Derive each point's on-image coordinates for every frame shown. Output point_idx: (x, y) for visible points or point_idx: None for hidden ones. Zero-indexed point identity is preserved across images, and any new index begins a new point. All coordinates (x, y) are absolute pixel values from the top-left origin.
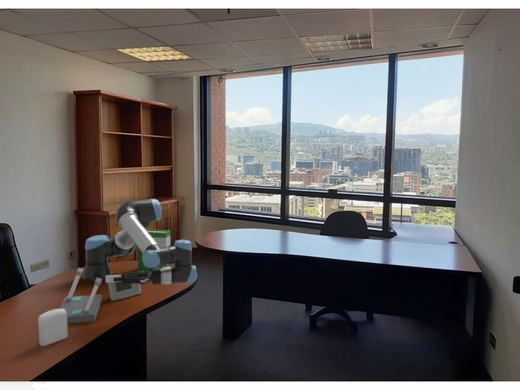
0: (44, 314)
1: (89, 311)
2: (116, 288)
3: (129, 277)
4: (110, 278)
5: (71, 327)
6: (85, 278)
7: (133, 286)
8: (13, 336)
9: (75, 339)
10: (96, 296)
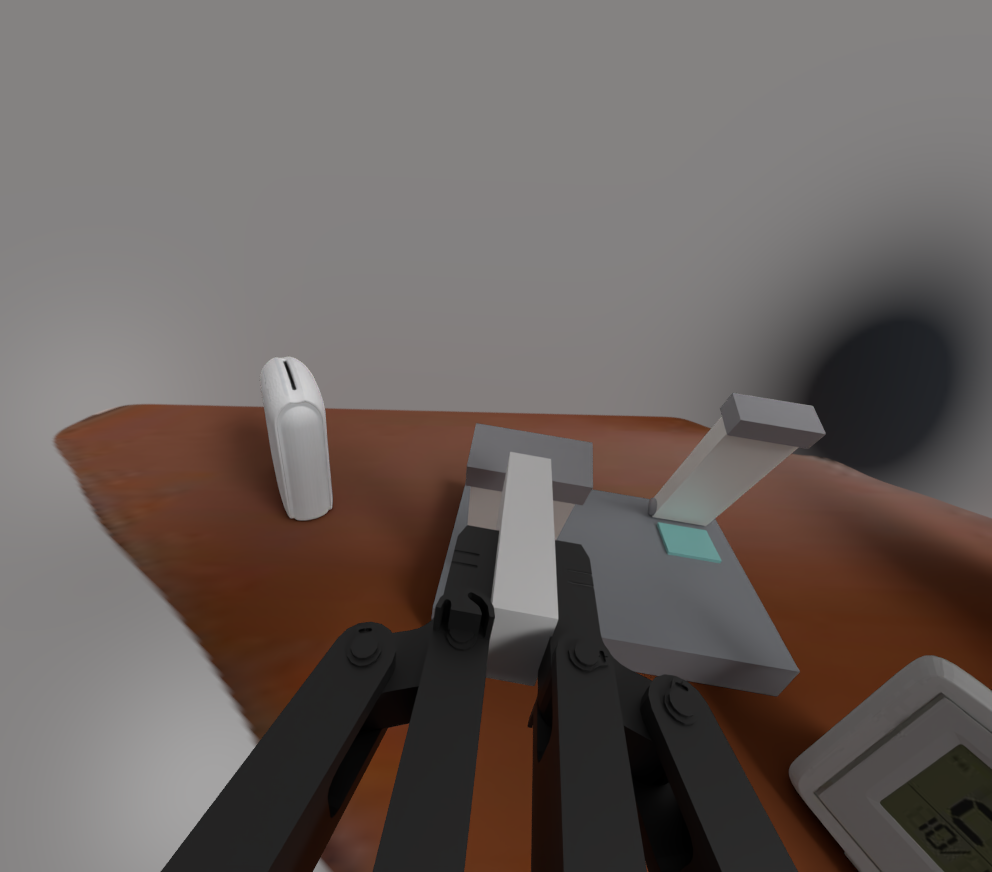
0: (276, 358)
1: None
2: (915, 790)
3: (284, 794)
4: (501, 508)
5: (404, 538)
6: None
7: None
8: (418, 421)
9: (249, 546)
10: (752, 637)
